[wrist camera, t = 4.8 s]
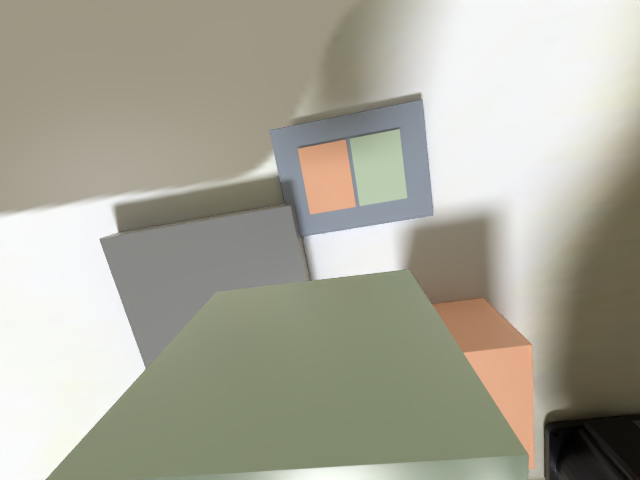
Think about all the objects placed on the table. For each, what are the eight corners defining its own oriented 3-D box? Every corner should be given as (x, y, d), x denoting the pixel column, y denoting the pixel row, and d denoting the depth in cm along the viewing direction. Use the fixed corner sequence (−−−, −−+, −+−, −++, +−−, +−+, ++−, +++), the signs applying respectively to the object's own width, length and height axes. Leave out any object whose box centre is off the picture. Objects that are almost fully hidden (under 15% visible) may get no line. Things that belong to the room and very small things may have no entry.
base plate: (335, 406, 21) (334, 424, 20) (182, 421, 22) (171, 440, 21) (294, 201, 18) (290, 205, 16) (117, 232, 19) (99, 238, 17)
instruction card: (431, 214, 17) (433, 215, 17) (292, 236, 18) (291, 238, 18) (420, 100, 16) (423, 99, 16) (270, 130, 17) (269, 130, 16)
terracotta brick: (488, 394, 20) (534, 468, 15) (410, 402, 21) (431, 476, 16) (482, 296, 19) (532, 344, 14) (398, 307, 19) (417, 358, 14)
